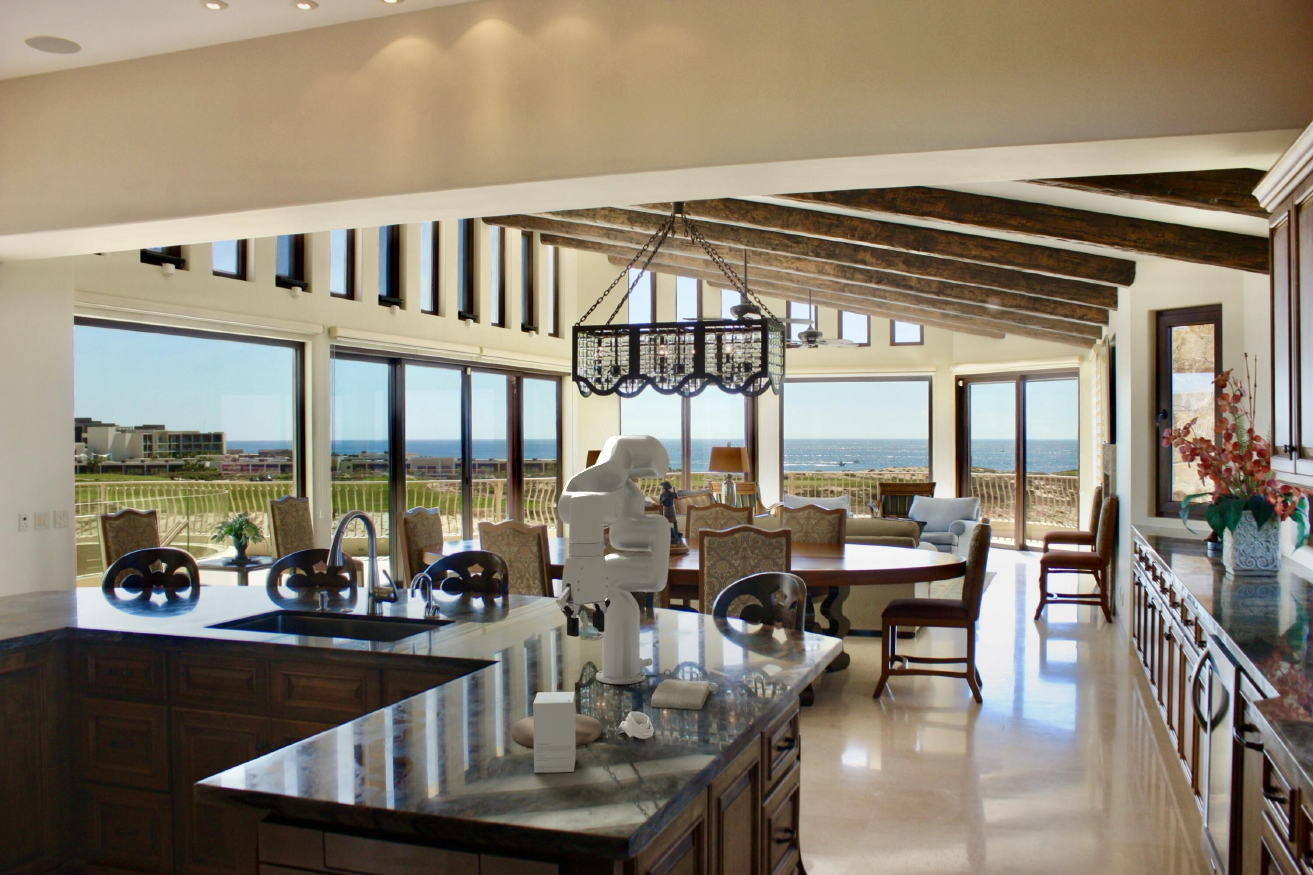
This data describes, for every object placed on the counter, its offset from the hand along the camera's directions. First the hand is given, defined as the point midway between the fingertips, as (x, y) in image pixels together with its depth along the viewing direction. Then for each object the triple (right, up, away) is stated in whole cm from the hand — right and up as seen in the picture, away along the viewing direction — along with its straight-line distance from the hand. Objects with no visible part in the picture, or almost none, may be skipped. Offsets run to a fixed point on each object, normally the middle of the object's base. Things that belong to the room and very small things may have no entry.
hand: (585, 632), depth 190 cm
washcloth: (+21, -19, +15) cm, 32 cm away
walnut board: (-5, -18, -11) cm, 22 cm away
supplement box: (-3, -18, -29) cm, 35 cm away
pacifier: (+1, -2, 0) cm, 2 cm away
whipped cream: (+11, -19, -11) cm, 24 cm away
